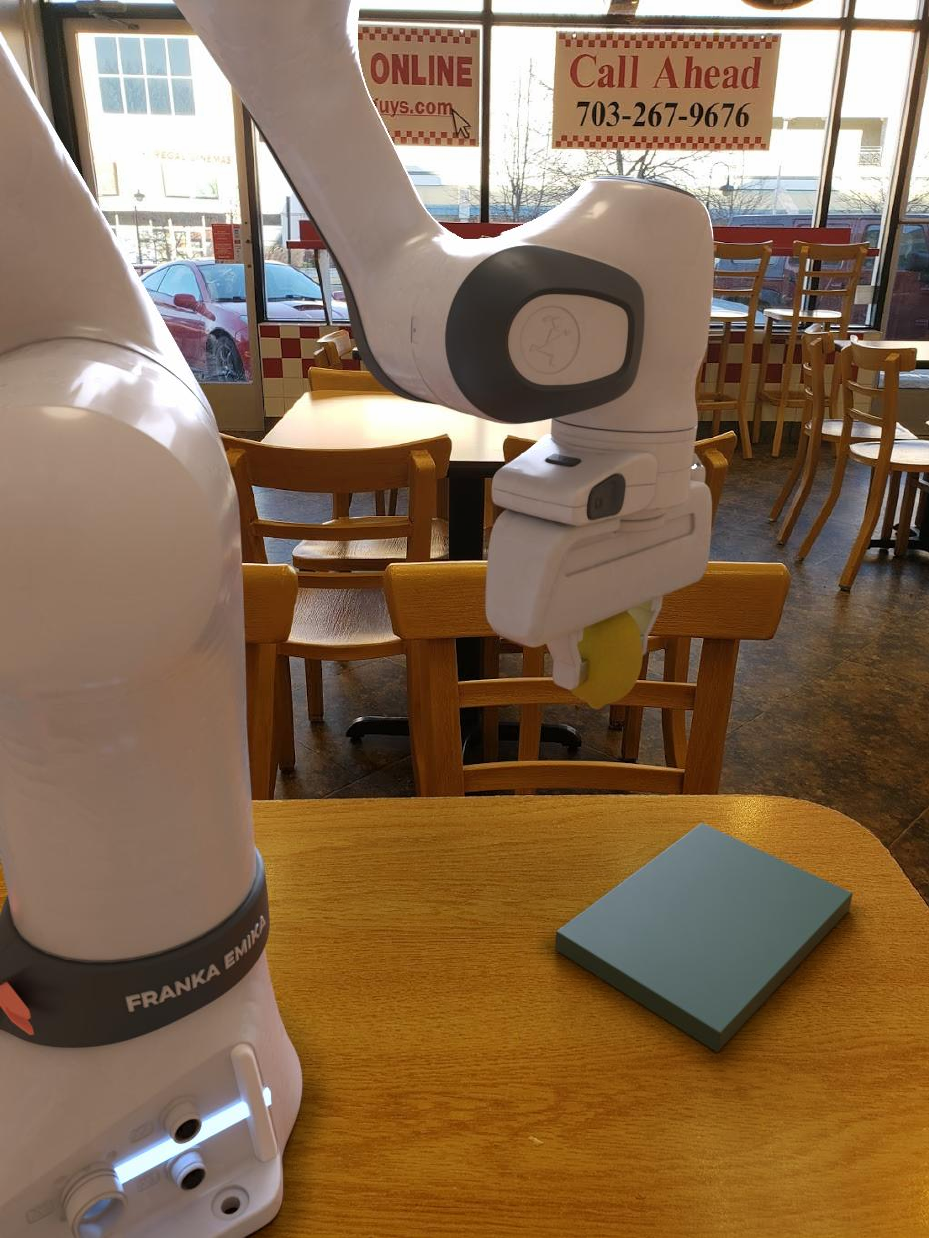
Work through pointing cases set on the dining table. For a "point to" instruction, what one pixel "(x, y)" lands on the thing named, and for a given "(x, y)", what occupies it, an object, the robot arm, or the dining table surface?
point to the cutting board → (705, 932)
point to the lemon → (610, 659)
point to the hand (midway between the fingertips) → (600, 670)
